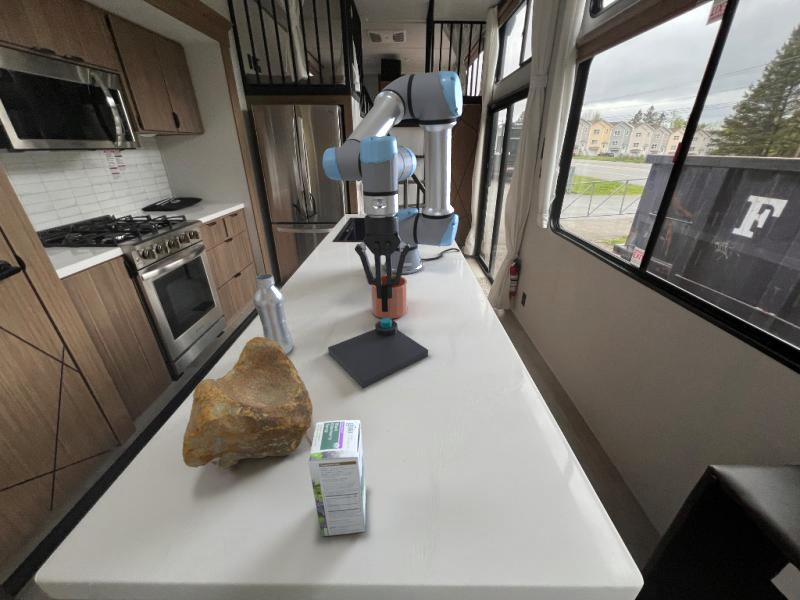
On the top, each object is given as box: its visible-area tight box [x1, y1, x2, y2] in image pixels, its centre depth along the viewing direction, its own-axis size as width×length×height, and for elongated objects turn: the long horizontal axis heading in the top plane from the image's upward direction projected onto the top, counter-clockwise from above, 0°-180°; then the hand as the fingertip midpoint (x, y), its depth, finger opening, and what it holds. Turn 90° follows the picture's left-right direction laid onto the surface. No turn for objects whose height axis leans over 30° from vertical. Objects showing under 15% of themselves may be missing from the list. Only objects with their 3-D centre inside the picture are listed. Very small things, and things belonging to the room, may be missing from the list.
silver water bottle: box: [252, 273, 294, 355], centre depth 75 cm, size 6×7×20 cm
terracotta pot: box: [369, 274, 408, 320], centre depth 95 cm, size 10×10×10 cm
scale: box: [327, 319, 429, 390], centre depth 77 cm, size 18×16×4 cm
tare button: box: [380, 318, 393, 329], centre depth 83 cm, size 3×3×2 cm
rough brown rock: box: [181, 336, 313, 470], centre depth 54 cm, size 23×17×15 cm
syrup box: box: [307, 419, 367, 537], centre depth 41 cm, size 6×6×14 cm
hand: (385, 309), depth 81 cm, fingers closed
